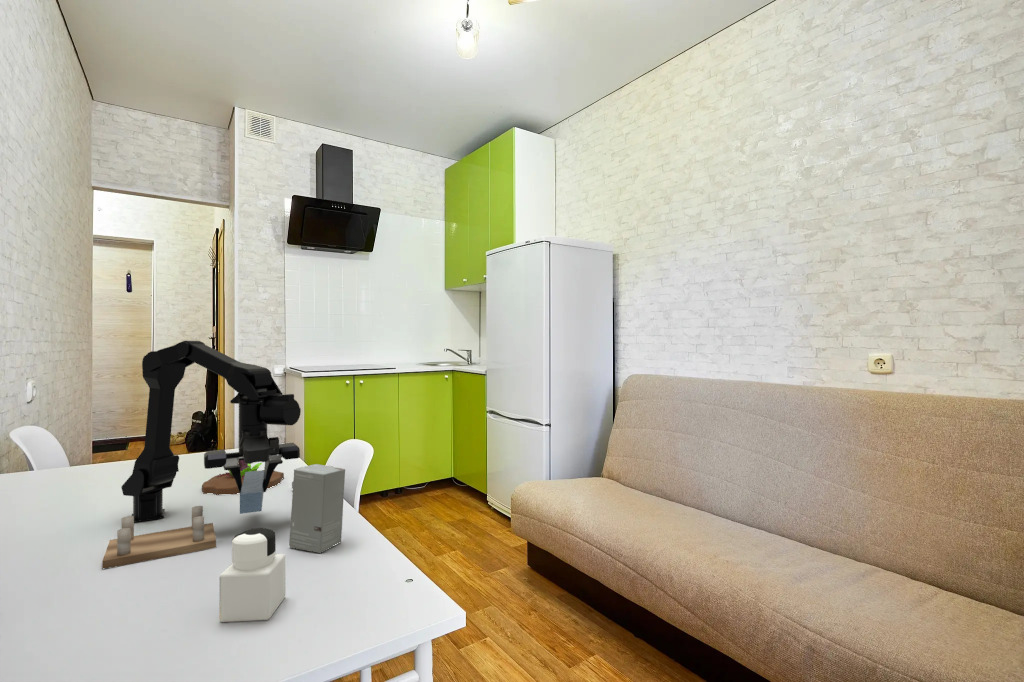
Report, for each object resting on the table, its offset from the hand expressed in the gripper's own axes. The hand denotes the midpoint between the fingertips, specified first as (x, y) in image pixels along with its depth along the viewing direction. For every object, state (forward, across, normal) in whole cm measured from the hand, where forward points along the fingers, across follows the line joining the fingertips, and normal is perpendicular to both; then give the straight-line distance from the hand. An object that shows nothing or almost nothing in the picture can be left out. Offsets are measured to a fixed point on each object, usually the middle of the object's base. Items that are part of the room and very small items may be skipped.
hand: (253, 493), depth 113 cm
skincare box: (+8, +10, -18) cm, 22 cm away
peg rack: (+8, -16, -2) cm, 18 cm away
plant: (+8, +2, +41) cm, 42 cm away
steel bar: (+1, 0, 0) cm, 1 cm away
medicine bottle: (+8, -4, -39) cm, 40 cm away
